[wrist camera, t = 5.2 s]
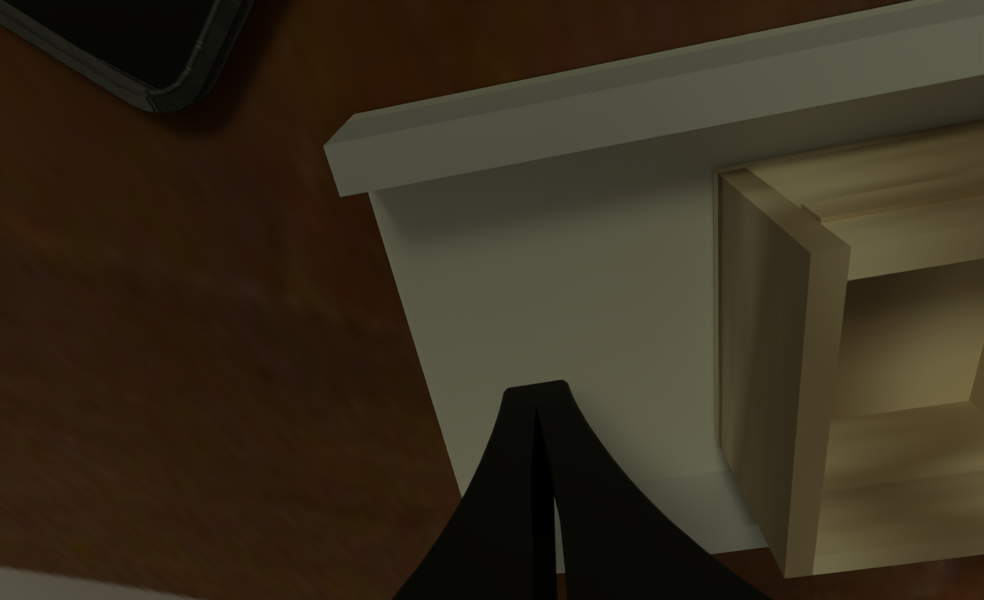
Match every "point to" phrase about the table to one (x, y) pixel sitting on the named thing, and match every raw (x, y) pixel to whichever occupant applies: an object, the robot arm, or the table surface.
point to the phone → (135, 43)
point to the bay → (626, 225)
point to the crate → (855, 348)
